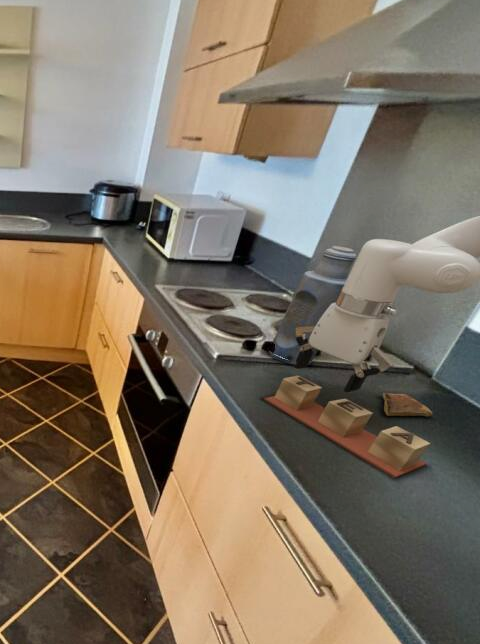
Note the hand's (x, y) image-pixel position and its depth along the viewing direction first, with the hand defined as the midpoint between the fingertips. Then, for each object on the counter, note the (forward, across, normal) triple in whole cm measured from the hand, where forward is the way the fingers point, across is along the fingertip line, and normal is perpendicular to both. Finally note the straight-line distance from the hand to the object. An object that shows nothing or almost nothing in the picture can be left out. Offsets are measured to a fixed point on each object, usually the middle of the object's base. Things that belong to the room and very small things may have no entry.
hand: (323, 378), depth 88 cm
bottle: (+7, +16, -18) cm, 25 cm away
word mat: (+7, -8, +4) cm, 11 cm away
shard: (+7, -9, -19) cm, 22 cm away
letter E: (+6, -8, +4) cm, 11 cm away
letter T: (+6, +2, +4) cm, 8 cm away
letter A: (+6, -16, +4) cm, 18 cm away
